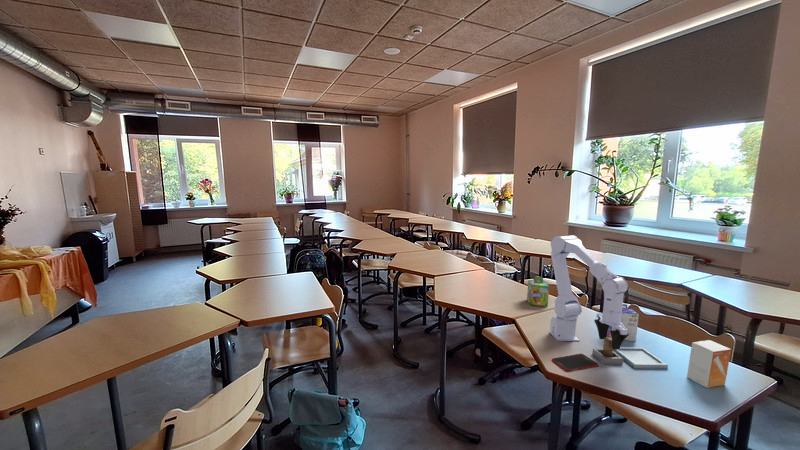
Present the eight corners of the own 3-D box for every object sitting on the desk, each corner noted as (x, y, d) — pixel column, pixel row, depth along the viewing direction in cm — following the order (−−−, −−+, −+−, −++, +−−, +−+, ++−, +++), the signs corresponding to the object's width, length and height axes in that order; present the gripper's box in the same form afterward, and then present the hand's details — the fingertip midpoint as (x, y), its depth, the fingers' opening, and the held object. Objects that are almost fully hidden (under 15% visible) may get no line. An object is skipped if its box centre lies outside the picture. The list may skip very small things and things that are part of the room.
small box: (707, 388, 102) (713, 351, 100) (686, 377, 108) (691, 341, 107) (725, 385, 104) (732, 348, 102) (703, 374, 110) (709, 339, 108)
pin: (605, 361, 118) (607, 341, 116) (600, 356, 121) (602, 337, 120) (614, 361, 118) (616, 341, 116) (608, 356, 121) (610, 337, 120)
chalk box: (530, 305, 170) (532, 279, 168) (526, 299, 179) (528, 274, 177) (548, 306, 168) (550, 280, 166) (543, 300, 177) (545, 275, 175)
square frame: (603, 363, 116) (604, 358, 115) (592, 353, 123) (592, 348, 122) (622, 364, 116) (623, 358, 115) (610, 353, 123) (610, 348, 122)
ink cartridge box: (630, 335, 138) (633, 304, 136) (636, 341, 132) (640, 309, 130) (605, 333, 140) (608, 302, 138) (610, 339, 134) (614, 307, 132)
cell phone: (599, 366, 115) (599, 364, 114) (566, 373, 111) (566, 370, 110) (581, 355, 122) (582, 353, 122) (550, 361, 118) (550, 358, 118)
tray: (634, 368, 113) (634, 364, 113) (612, 350, 125) (612, 346, 125) (667, 368, 113) (668, 364, 113) (642, 350, 125) (642, 347, 125)
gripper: (590, 301, 124) (587, 334, 125) (614, 317, 109) (611, 353, 111) (607, 302, 124) (604, 334, 125) (635, 317, 109) (631, 354, 111)
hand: (608, 343), depth 118 cm, fingers open, 7 cm apart
